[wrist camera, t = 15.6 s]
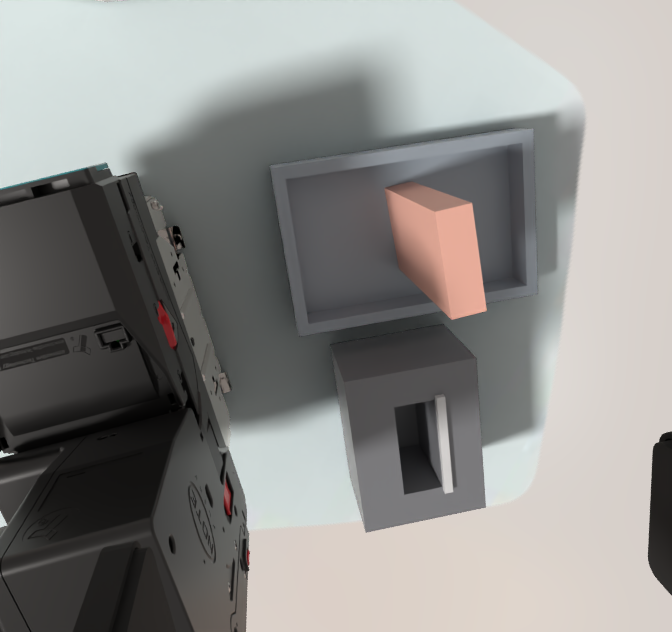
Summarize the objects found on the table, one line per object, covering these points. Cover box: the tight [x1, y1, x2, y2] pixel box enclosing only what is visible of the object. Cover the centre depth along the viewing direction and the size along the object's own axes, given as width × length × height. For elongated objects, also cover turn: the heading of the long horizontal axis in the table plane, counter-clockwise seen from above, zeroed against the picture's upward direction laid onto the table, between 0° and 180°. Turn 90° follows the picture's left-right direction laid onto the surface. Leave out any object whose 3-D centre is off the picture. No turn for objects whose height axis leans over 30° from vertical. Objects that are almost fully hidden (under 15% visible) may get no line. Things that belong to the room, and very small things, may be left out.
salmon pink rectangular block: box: [384, 181, 487, 320], centre depth 37 cm, size 6×2×12 cm, turn 12°
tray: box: [269, 128, 538, 337], centre depth 42 cm, size 12×18×3 cm, turn 98°
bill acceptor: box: [0, 163, 250, 632], centre depth 31 cm, size 10×23×25 cm, turn 13°
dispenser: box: [330, 324, 486, 532], centre depth 44 cm, size 12×9×7 cm
